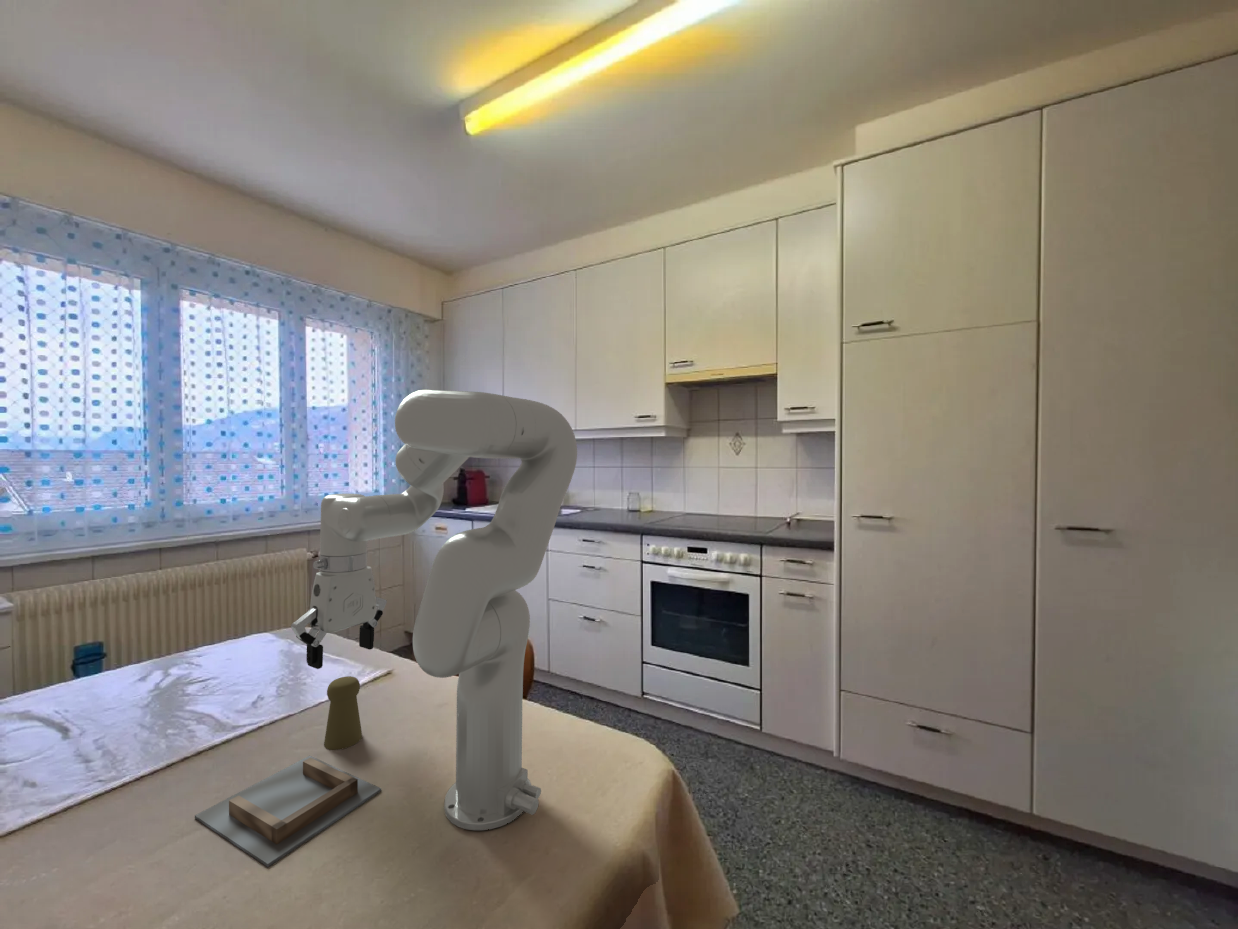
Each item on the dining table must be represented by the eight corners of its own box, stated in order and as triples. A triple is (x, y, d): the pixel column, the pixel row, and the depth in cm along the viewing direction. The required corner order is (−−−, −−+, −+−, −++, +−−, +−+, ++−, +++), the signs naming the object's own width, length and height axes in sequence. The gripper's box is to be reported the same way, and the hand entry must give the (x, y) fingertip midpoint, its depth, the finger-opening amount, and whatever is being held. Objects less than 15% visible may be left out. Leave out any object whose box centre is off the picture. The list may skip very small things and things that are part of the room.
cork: (369, 732, 92) (369, 673, 92) (348, 751, 86) (348, 688, 86) (338, 730, 92) (339, 671, 92) (315, 748, 86) (316, 686, 86)
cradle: (381, 791, 76) (381, 775, 76) (267, 867, 61) (267, 848, 61) (309, 757, 84) (309, 743, 84) (194, 818, 69) (194, 801, 69)
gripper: (307, 575, 80) (305, 680, 80) (399, 557, 95) (397, 645, 95) (280, 569, 83) (278, 670, 83) (373, 552, 98) (371, 637, 99)
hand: (341, 657), depth 89 cm, fingers open, 9 cm apart
